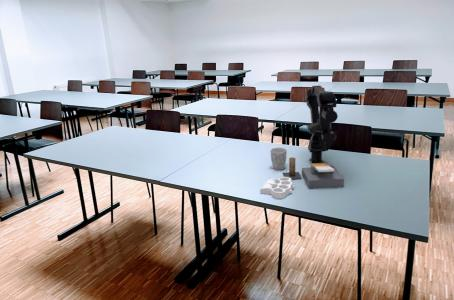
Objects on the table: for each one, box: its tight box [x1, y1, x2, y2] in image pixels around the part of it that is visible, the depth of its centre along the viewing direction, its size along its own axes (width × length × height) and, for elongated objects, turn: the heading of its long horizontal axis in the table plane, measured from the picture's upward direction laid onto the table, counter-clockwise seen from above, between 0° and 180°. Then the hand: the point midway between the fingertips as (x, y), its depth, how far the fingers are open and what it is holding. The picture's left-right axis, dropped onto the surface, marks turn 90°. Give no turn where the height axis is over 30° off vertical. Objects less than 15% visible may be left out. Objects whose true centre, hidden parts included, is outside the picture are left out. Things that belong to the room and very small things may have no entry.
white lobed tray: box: [259, 176, 297, 200], centre depth 159 cm, size 3×18×15 cm
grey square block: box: [301, 163, 345, 190], centre depth 165 cm, size 16×16×8 cm
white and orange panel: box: [310, 162, 334, 172], centre depth 164 cm, size 15×7×1 cm, turn 0°
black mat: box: [282, 171, 303, 181], centre depth 173 cm, size 8×8×1 cm
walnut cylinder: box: [288, 157, 296, 176], centre depth 172 cm, size 3×3×9 cm
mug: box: [270, 147, 288, 170], centre depth 185 cm, size 11×8×10 cm
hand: (324, 147), depth 174 cm, fingers open, 9 cm apart
